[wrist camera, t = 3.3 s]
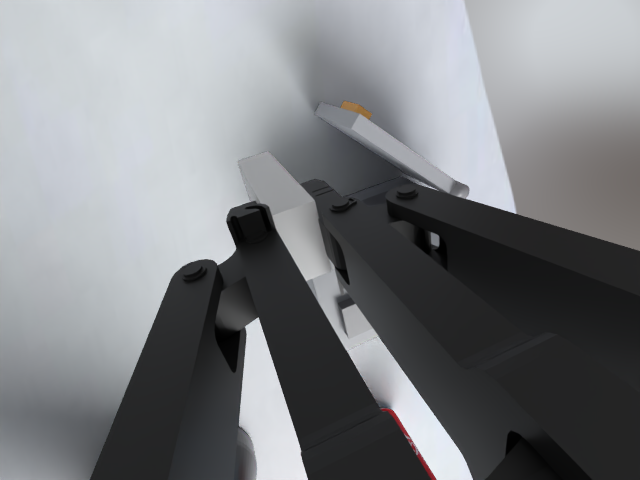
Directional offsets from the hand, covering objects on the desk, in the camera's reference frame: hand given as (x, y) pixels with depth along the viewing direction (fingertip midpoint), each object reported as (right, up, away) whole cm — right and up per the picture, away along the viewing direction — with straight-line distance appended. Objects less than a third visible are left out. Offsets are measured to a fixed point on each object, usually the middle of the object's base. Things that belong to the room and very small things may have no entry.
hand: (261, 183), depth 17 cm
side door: (+7, +6, +13) cm, 16 cm away
